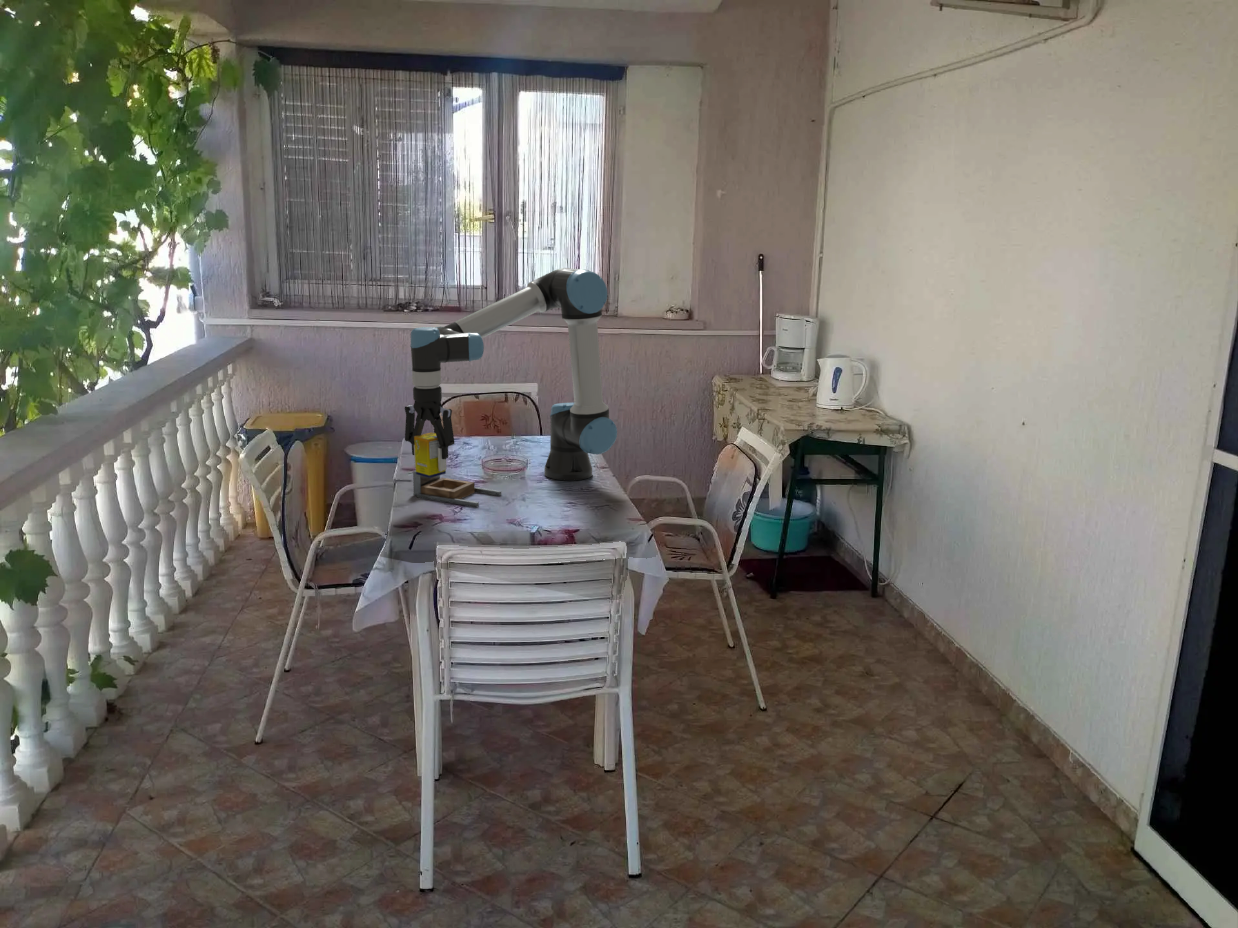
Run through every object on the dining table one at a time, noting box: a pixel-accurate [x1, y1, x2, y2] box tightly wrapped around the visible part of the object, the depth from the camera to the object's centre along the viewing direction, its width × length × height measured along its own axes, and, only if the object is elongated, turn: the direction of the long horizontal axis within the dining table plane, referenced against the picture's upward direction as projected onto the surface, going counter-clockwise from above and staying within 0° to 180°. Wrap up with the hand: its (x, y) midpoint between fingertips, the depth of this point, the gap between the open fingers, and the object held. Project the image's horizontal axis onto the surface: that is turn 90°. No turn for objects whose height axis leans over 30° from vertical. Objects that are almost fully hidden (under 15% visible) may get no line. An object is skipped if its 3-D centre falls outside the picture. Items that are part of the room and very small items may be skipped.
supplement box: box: [414, 432, 447, 478], centre depth 254 cm, size 6×6×11 cm
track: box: [412, 469, 502, 508], centre depth 267 cm, size 22×14×7 cm, turn 67°
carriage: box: [421, 477, 476, 500], centre depth 268 cm, size 11×11×3 cm
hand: (430, 468), depth 255 cm, fingers closed on supplement box, 7 cm apart
